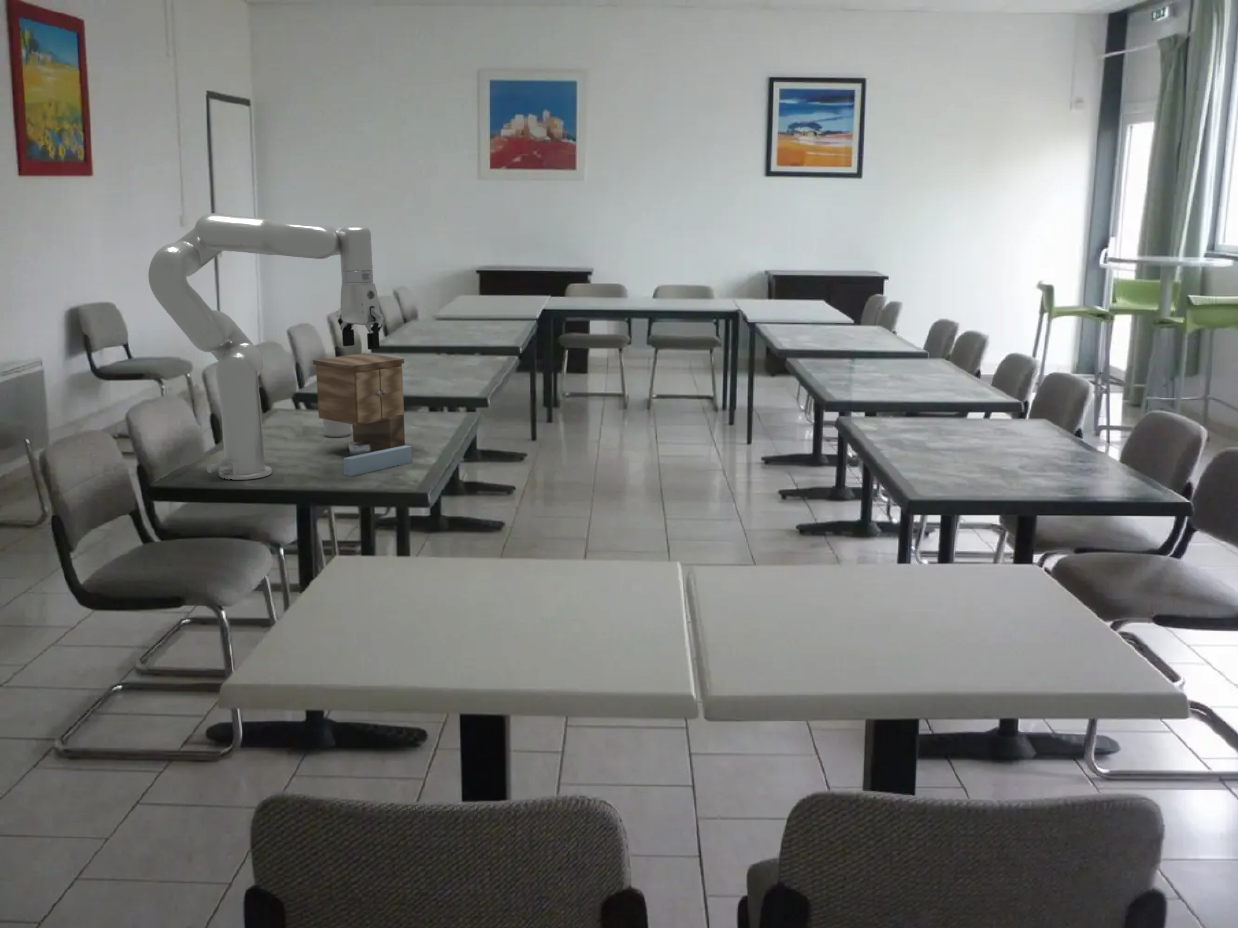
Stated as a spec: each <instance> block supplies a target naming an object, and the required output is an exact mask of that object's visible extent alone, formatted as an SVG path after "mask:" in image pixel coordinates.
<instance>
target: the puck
mask: <svg viewBox="0 0 1238 928" xmlns="http://www.w3.org/2000/svg"><path fill="white" fill-rule="evenodd" d="M348 449H349V450H348V451H349V454H348V455H349V457H351V456H356V455H361V454H366V453H371V452H373V450H372V442H369V441H355V442H353V441H352V442H349V443H348Z"/></svg>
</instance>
